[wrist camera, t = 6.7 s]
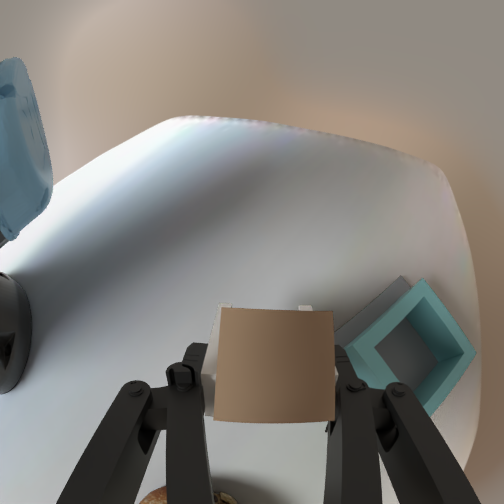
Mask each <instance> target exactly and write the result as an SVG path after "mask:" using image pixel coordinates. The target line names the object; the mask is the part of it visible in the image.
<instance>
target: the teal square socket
mask: <svg viewBox="0 0 504 504" xmlns="http://www.w3.org/2000/svg"><path fill="white" fill-rule="evenodd" d="M334 345H340V346H341V347H342V348H343V349H345V351H346V353H347V355H348V357H349V359H350V362H351V364H352V366H353V368H354V370H355V372H356V374H357V377H358V378H359V379H362V380H364V381H365V382H366V383H367V384H368V387H370V388H375V389H385V388H386V386H387V385H388V384H389V383H392V382H401V383H404V384H406V385H408V386H409V387H410V388H411V390H412V391H413V393H414V394H415V396H416V397H417V399H418V400H419V402H420V403H421V405H422V406H423V408H424V409H425V411H426V412H427V414H428V415H429V417H430V416H431V415H432V414H433V413H434V412H435V410H436V409H437V408H438V407H439V406H440V404H441V403H442V402H443V401H444V399H445V398H446V397H447V395H448V394H449V393H450V391H451V390H452V389H453V387H454V386H455V385H456V383H457V382H458V381H459V379H460V378H461V376H462V375H463V373H464V372H465V370H466V369H467V367H468V366H469V364H470V363H471V361H472V360H473V358H474V356H475V355H476V351H475V349H474V348H473V346H472V345H471V343H470V342H469V340H468V339H467V337H466V336H465V334H464V333H463V331H462V330H461V328H460V327H459V325H458V324H457V323H456V321H455V320H454V318H453V317H452V316H451V314H450V313H449V311H448V310H447V309H446V307H445V306H444V305H443V303H442V302H441V301H440V299H439V298H438V297H437V295H436V294H435V293H434V291H433V290H432V289H431V288H430V286H429V285H428V284H427V283H426V281H425V280H424V279H423V278H422V279H421V280H420V281H418V282H417V283H416V284H415V285H414V286H413V287H412V288H411V287H410V286H409V285H408V283H407V282H406V281H405V280H404V279H403V277H402V276H400V277H399V278H398V279H397V280H396V281H394V282H393V283H392V284H391V285H390V286H389V287H388V288H387V289H386V290H385V291H384V292H382V293H381V294H380V295H379V296H378V297H377V298H376V299H375V300H373V301H372V302H371V303H370V304H369V305H368V306H366V307H365V308H364V309H363V310H362V311H361V312H359V313H358V314H357V315H356V316H355V317H353V318H352V319H351V320H350V321H348V322H347V323H346V324H345V325H343V326H342V327H341V328H340V329H338V330H337V331H336V332H335V333H334Z"/></svg>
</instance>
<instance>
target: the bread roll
mask: <svg viewBox="0 0 504 504" xmlns="http://www.w3.org/2000/svg"><path fill="white" fill-rule="evenodd" d="M213 495H214V501H215V504H237V501H236V500H235V499H234V498H233V497H231V496H230V495H228V494H226V493H222V492H220V493H219V494H216V493H213ZM139 504H167V493H166V486H164V487H161V488H158V489H156V490H154V491H152V492H150V493H149V494H148V495H147V496H146V497H145V498H144V499H143V500H142V501H141V502H140V503H139Z"/></svg>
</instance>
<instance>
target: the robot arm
mask: <svg viewBox="0 0 504 504" xmlns="http://www.w3.org/2000/svg"><path fill="white" fill-rule="evenodd" d="M52 191H53V173H52V166H51V160H50V155H49V150H48V146H47V141H46V137H45V133H44V128H43V125H42V120H41V116H40V113H39V109H38V105H37V101H36V97H35V93H34V90H33V87H32V83H31V80H30V79H29V77H28V74H27V69H26V66H25V65H24V63H23V61H22V60H21V59H20V58H17V57H13V58H11V59H5V60H3V61H2V62H1V63H0V248H1V247H3V246H4V245H5V244H6V243H7V242H8V241H13V240H14V239H16V238H17V236H18V235H19V232H20V231H21V230H22V229H23V228H24V227H25V226H27V225H28V224H29V223H30V222H31V221H32V220H34V219H35V218H36V217H37V216H38V215H40V214H41V213H42V212H43V211H44V210H45V208H46V207H47V205H48V204H49V202H50V199H51V196H52ZM221 307H227V308H232V304H229V303H219V306H218V310H217V313H216V317H215V321H214V325H213V328H212V332H211V336H210V340H209V343H208V344H205V343H192V344H191V345H190V346H189V347H187V350H186V352H185V355H184V358H183V361H182V362H178V363H174V364H172V365H170V366H169V367H168V368H167V370H166V376H167V381H168V386H165V387H161V388H150V386H149V385H148V384H147V383H146V382H143V381H136V380H135V381H130V382H128V383H126V384H125V385H124V386H123V387H122V388H121V390H120V391H119V393H118V395H117V396H116V398H115V400H114V401H113V403H112V405H111V406H110V408H109V410H108V411H107V413H106V415H105V416H104V418H103V420H102V421H101V423H100V425H99V426H98V428H97V430H96V432H95V433H94V435H93V437H92V439H91V440H90V442H89V444H88V446H87V447H86V449H85V451H84V453H83V454H82V456H81V458H80V460H79V462H78V463H77V465H76V467H75V469H74V471H73V472H72V474H71V476H70V478H69V480H68V482H67V484H66V485H65V487H64V489H63V491H62V493H61V495H60V497H59V499H58V501H57V503H56V504H134V502H135V499H136V497H137V494H138V491H139V488H140V485H141V483H142V480H143V477H144V474H145V472H146V469H147V466H148V464H149V461H150V458H151V455H152V453H153V450H154V447H155V445H156V442H157V439H158V437H159V434H160V431H161V430H166V493H167V504H215V501H214V495H213V489H212V482H211V475H210V468H209V460H208V452H207V444H206V435H205V426H204V418H203V417H204V412H205V416H213V417H214V401H215V385H216V371H217V357H218V344H219V331H220V319H221ZM298 311H313V309H312V307H311V305H299V309H298ZM30 343H31V312H30V306H29V302H28V299H27V296H26V294H25V292H24V290H23V288H22V287H21V286H20V285H19V284H18V283H17V282H16V281H15V280H13V279H12V278H11V277H9V276H8V275H6V274H5V273H3V272H0V394H3V393H6V392H8V391H9V390H11V389H12V388H13V387H14V386H15V385H16V383H17V382H18V380H19V379H20V377H21V375H22V373H23V370H24V368H25V365H26V362H27V358H28V354H29V349H30ZM334 349H335V420H334V421H328V424H327V427H326V430H325V432H327V431H328V444H327V464H326V479H325V491H324V502H323V504H382V489H381V475H380V464H379V454H380V456H381V459H382V461H383V464H384V466H385V468H386V471H387V473H388V476H389V478H390V481H391V483H392V486H393V488H394V491H395V493H396V496H397V498H398V501H399V503H400V504H481V503H480V501H479V499H478V497H477V496H476V494H475V492H474V490H473V488H472V486H471V485H470V483H469V481H468V479H467V477H466V476H465V474H464V472H463V470H462V469H461V467H460V465H459V464H458V462H457V460H456V459H455V457H454V455H453V454H452V452H451V450H450V449H449V447H448V445H447V444H446V442H445V440H444V439H443V437H442V436H441V434H440V432H439V431H438V429H437V428H436V426H435V425H434V423H433V422H432V420H431V418H430V417H429V415H428V414H427V412H426V411H425V409H424V408H423V406H422V405H421V403H420V402H419V400H418V399H417V397H416V396H415V394H414V393H413V391H412V390H411V388H410V387H409V386H408V385H406V384H404V383H401V382H392V383H389V384H388V385H387V386H386V388H385V389H375V388H370V387H368V384H367V383H366V382H365V381H364V380H362V379H359V378H358V377H357V374H356V372H355V370H354V368H353V366H352V364H351V362H350V359H349V357H348V355H347V353H346V351H345V349H343V348H342V347H341V346H340V345H334ZM378 452H379V454H378Z"/></svg>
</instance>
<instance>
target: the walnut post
mask: <svg viewBox="0 0 504 504" xmlns="http://www.w3.org/2000/svg"><path fill="white" fill-rule="evenodd" d="M213 420H215V421H226V422H242V423H307V422H322V421H334V420H335V349H334V325H333V311H293V310H265V309H244V308H227V307H221V319H220V331H219V344H218V357H217V371H216V385H215V401H214V418H213Z"/></svg>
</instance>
